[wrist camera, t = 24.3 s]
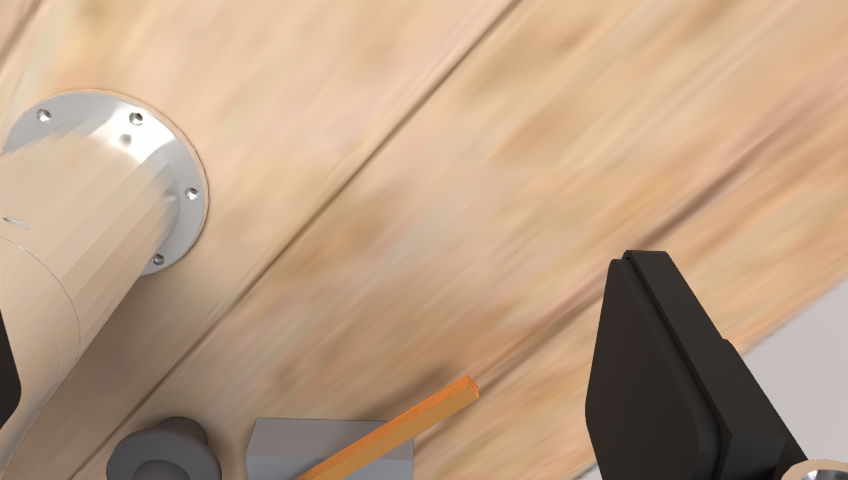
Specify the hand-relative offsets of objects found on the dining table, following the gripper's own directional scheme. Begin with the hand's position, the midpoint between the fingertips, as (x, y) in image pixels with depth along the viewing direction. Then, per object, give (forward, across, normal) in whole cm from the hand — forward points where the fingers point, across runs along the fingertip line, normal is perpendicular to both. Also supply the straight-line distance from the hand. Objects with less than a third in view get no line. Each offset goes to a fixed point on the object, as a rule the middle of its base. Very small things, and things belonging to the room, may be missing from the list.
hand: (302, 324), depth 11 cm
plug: (+33, +16, +33) cm, 50 cm away
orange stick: (+29, +2, +29) cm, 41 cm away
